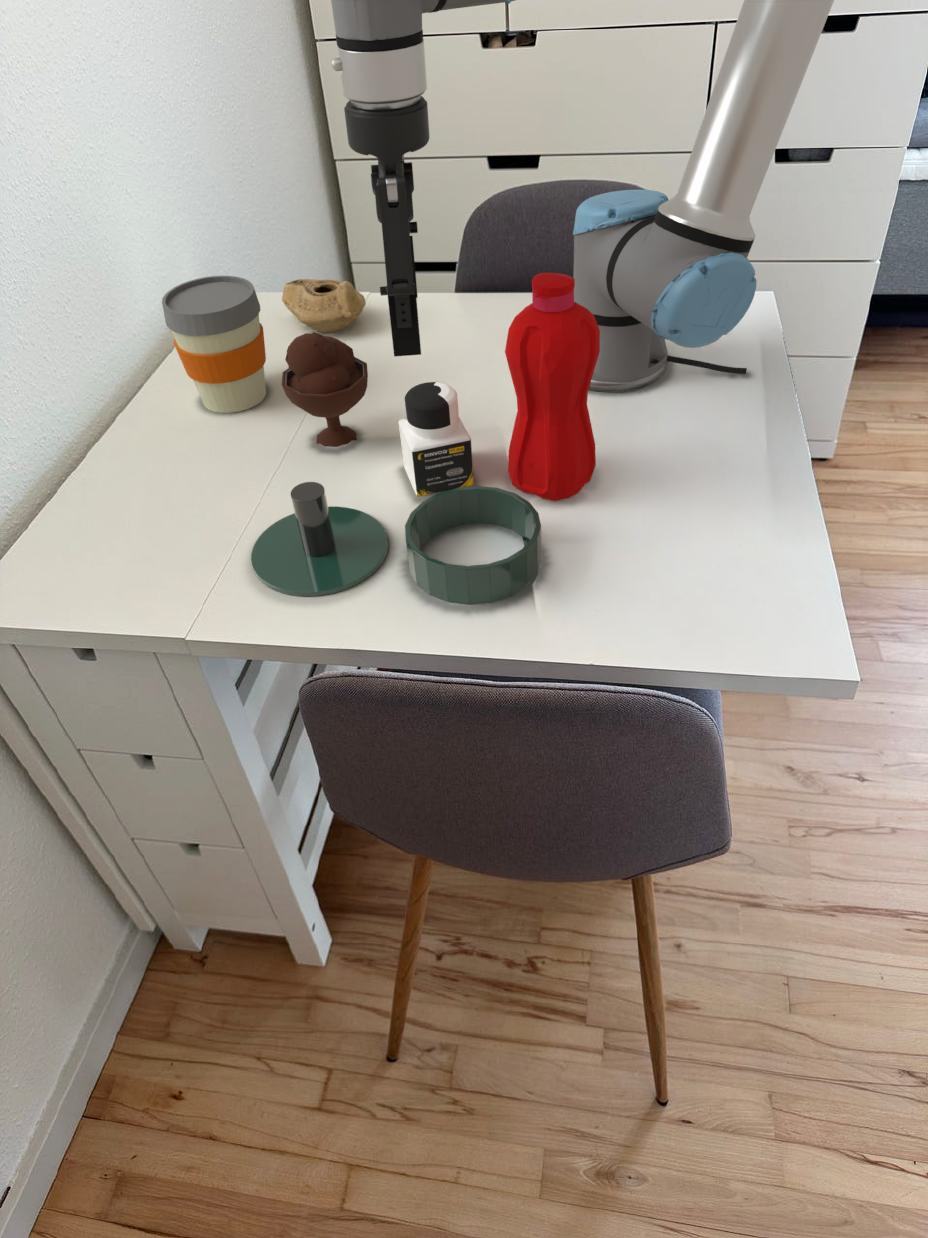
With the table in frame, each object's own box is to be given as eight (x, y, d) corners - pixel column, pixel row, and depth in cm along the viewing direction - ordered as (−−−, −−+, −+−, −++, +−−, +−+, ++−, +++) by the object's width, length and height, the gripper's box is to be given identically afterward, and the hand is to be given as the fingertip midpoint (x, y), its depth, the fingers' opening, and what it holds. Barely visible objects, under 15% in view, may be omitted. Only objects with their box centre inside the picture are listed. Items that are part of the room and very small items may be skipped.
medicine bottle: (417, 500, 108) (407, 411, 99) (403, 469, 113) (392, 381, 104) (474, 488, 109) (469, 399, 100) (458, 457, 114) (452, 370, 106)
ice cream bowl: (366, 464, 114) (348, 354, 104) (283, 459, 116) (257, 350, 106) (387, 420, 121) (373, 313, 111) (309, 416, 123) (288, 311, 113)
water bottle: (610, 465, 111) (623, 261, 93) (566, 512, 104) (570, 302, 87) (545, 445, 115) (545, 246, 97) (498, 489, 108) (490, 285, 91)
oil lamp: (301, 304, 150) (292, 256, 145) (381, 314, 145) (375, 265, 140) (266, 333, 143) (255, 283, 137) (350, 345, 138) (342, 294, 133)
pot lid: (388, 509, 107) (378, 445, 101) (389, 593, 96) (379, 528, 90) (259, 520, 107) (243, 458, 101) (246, 607, 95) (226, 542, 89)
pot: (531, 519, 104) (531, 480, 100) (549, 601, 93) (549, 561, 90) (408, 530, 103) (403, 492, 100) (412, 614, 93) (406, 575, 89)
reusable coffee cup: (173, 413, 126) (140, 310, 116) (218, 371, 135) (192, 271, 124) (252, 424, 123) (226, 319, 112) (293, 380, 131) (272, 278, 121)
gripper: (347, 68, 90) (372, 279, 104) (337, 141, 72) (369, 384, 86) (422, 63, 90) (436, 274, 104) (432, 134, 72) (447, 378, 86)
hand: (406, 324), depth 95 cm, fingers open, 13 cm apart
